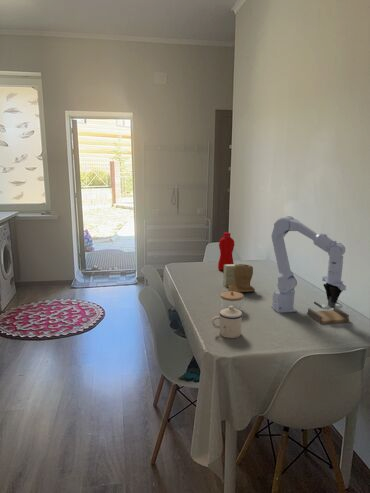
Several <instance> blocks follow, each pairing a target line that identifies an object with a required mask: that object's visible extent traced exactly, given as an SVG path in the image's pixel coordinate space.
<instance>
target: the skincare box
mask: <svg viewBox="0 0 370 493" xmlns="http://www.w3.org/2000/svg"><path fill="white" fill-rule="evenodd" d="M235 265H236V264H226V265H224V271H223V274H222V275H223V277H222V279H223V280H222V281H223V282H222V285H223V286H224V287H226V288H229V285H233V284H234V283H235V277H234V266H235Z"/></svg>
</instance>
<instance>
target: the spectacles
mask: <svg viewBox="0 0 370 493" xmlns="http://www.w3.org/2000/svg"><path fill="white" fill-rule="evenodd" d="M313 304H314V305H316V306H317V307H319V308H320V309H323V310H330V309H334V308H338V309H340V310H341V309H343V304H341V303H339V302H338V301H337V302H336V303H332V302H331V296H329V298H328V300H327V304H325V303H323V304H320V303H318V302H317V301H314V302H313Z"/></svg>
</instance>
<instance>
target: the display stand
mask: <svg viewBox="0 0 370 493" xmlns="http://www.w3.org/2000/svg"><path fill="white" fill-rule="evenodd" d="M306 315H307V316H309V318H311V319H312V320H314V321H316V322H317V323H318V324H320V325H323V324H324V325H325V324H336V323H337V324H338V323H339V324H340V323H349V322H350V314H348V313H346V312H345V311H343V310H341V309H338V308H332V309H331V310H330V309H328V310H317V311H315V310H313V309H311V308H307V312H306ZM348 321H349V322H348Z"/></svg>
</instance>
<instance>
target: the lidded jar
mask: <svg viewBox="0 0 370 493" xmlns="http://www.w3.org/2000/svg"><path fill="white" fill-rule="evenodd" d="M219 296H220V305H221V307H222V310H223V309H226V308H229V306H233V307H234V308H235V309H237V310H241V308H242V306H243V302H244V293H242V292H234V291H229V290H226V291H223V292H221V293H220V295H219Z"/></svg>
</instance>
